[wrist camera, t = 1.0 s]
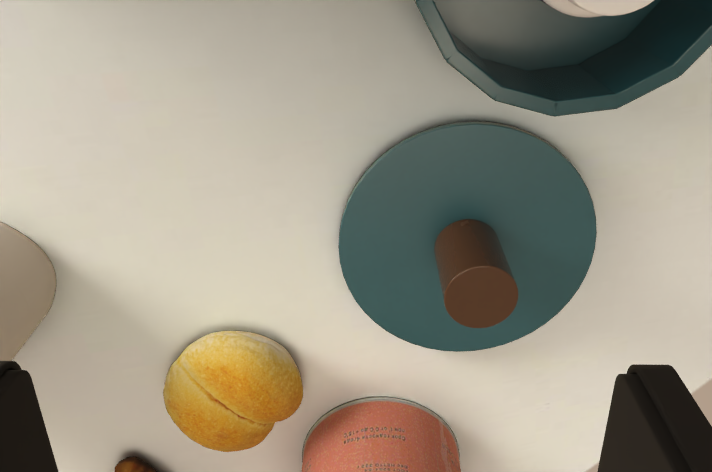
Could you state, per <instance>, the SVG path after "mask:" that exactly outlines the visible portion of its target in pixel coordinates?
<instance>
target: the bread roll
mask: <svg viewBox="0 0 712 472" xmlns="http://www.w3.org/2000/svg"><path fill="white" fill-rule="evenodd" d="M163 396H164V401H165V406H166V409H167V412H168V413H169V415H170V416H171V418H172V420H173V421H174V423H175V424H176V425H177V426H178V427H179V428H180V430H181V431H182V432H183V433H184V434H186V435H187V436H188V437H189V438H190V439H192V440H193V441H195V442H197V443H199V444H200V445H202V446H204V447H207V448H210V449H213V450H218V451H223V452H231V451H239V450H244V449H249V448H251V447H254V446H256V445H257V444H259V443H260V442H262V441H263V440H264V439H265V437H266V436H267V435H268V434H269V432H270V431H271V430H272V428H273V426H274V424H275V422H277V421H282V420H284V419H287V418H288V417H290V416H291V415H292V414H294V412H295V411H296V410H297V409H298V408H299V406H300V404H301V401H302V397H303V386H302V381H301V376H300V373H299V370H298V368H297V366H296V364H295V362H294V361H293V359H292V357H291V356H290V354H289V353H288V351H287V350H286V349H285V348H284V347H283V346H281V345H280V344H279V343H277V342H276V341H274V340H272V339H269V338H267V337H265V336H262V335H259V334H256V333H252V332H243V331H220V332H215V333H211V334H208V335H206V336H204V337H202V338H200V339H198V340H196V341H195V342H194V343H192V344H190V345H189V346H188V347H187V348H186V349H185V350H184V351H183V352H182V354H181V355H180V356H179V358H178V359H177V360H176V361H175V362H174V363H173V364H172V365H171V367H170V369H169V371H168V374H167V376H166V380H165V387H164V391H163Z"/></svg>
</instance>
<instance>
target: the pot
mask: <svg viewBox="0 0 712 472" xmlns="http://www.w3.org/2000/svg"><path fill="white" fill-rule="evenodd" d="M414 1H415V3H416V5H417V7H418V9H419V11H420V12H421V14H422V16H423V18H424V20H425V22H426V24H427V26H428V28H429V30H430V32H431V34H432V36H433V38H434V40H435V42H436V44H437V46H438V48H439V50H440V51H441V53H442V55H443V57H444V59H445V60H446V62H447V63H449V64H450V65H451V66H452V67H453V68H455V69H456V70H457V71H458V72H460V73H461V74H462V75H463V76H465V77H466V78H467V79H468V80H469V81H471V82H472V83H473V84H474V85H476V86H477V87H478V88H479V89H481V90H482V91H483V92H484V93H486V94H487V95H488V96H489V97H490V98H492V99H494V100H495V101H498V102H502V103H506V104H509V105H513V106H517V107H521V108H524V109H528V110H532V111H535V112H539V113H543V114H546V115H550V116H561V115H570V114H578V113H586V112H594V111H602V110H610V109H617V108H619V107H621V106H623V105H625V104H627V103H629V102H631V101H633V100H635V99H637V98H639V97H641V96H643V95H645V94H647V93H649V92H651V91H653V90H655V89H657V88H659V87H660V86H662V85H664V84H666V83H668V82H670V81H672V80H674V79H676V78H678V77H679V76H681V75H682V74H683V73H684V72H685V71H686V70H687V69H688V68H689V67H690V66H691V65H692V64H693V63H694V62H695V61H696V60H697V59H698V58H699V57H700V56H701V55H702V54H703V53H704V52H705V51H706V50H707V49H708V48H709V47H710V46H711V45H712V0H654V1H653V2H651V3H650V4H648V5H647V6H645V7H643V8H641V9H639V10H636V11H634V12H631V13H628V14H624V15H617V16H605V15H603V16H598V17H576V16H571V15H567V14H564V13H561V12H559V11H557V10H555V9H553V8H552V7H550V6H548V5H547V4H545V3H544V2H542V1H540V0H414Z"/></svg>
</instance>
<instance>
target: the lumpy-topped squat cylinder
mask: <svg viewBox="0 0 712 472" xmlns="http://www.w3.org/2000/svg"><path fill="white" fill-rule="evenodd" d="M55 291H56V275H55V271H54V268H53V266H52V264H51V262H50V260H49V258H48V257H47V255H46V254H45V253H44V252H43V250H42V249H41V248H40V247H39V246H38V245H36V244H35V243H34V242H33V241H32V240H30V239H29V238H27V237H26V236H25V235H23V234H21V233H20V232H18V231H17V230H15V229H13V228H11V227H10V226H8V225H6V224H4V223H2V222H0V361H12V359H13V358H14V357H15V355H16V354H17V353H18V351H19V350H20V349H21V347H22V346H23V345H24V344H25V342H26V341H27V340H28V338H29V337H30V336H31V334H32V333H33V332H34V330H35V329H36V328H37V326H38V325H39V324H40V322H41V321H42V320H43V319H44V317H45V316H46V315H47V313H48V311H49V310H50V308H51V305H52V302H53V299H54V295H55Z"/></svg>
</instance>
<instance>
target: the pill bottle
mask: <svg viewBox="0 0 712 472" xmlns="http://www.w3.org/2000/svg"><path fill="white" fill-rule="evenodd" d="M540 1H542V2H544V3H545V4H547V5H548V6H550V7H552V8H553V9H555V10H557V11H559V12H561V13H564V14H567V15H571V16H576V17H598V16H603V15H605V16H617V15H624V14H628V13H631V12H634V11H636V10H639V9H641V8H643V7H645V6H647V5H648V4H650V3H651V2H653V1H654V0H540Z"/></svg>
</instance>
